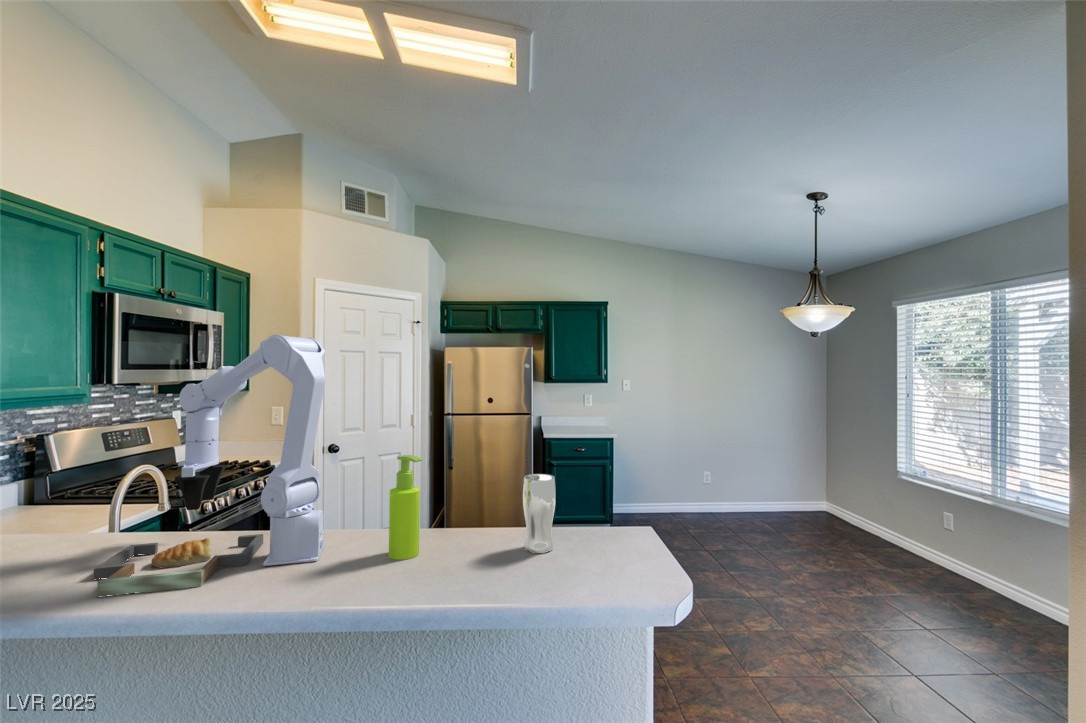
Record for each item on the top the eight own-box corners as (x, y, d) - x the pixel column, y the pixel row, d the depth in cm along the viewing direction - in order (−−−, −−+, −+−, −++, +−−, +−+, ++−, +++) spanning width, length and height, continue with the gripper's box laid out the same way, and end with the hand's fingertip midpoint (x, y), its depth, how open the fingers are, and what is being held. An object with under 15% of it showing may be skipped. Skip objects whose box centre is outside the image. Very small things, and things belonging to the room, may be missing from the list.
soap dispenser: (406, 563, 91) (407, 459, 91) (382, 556, 94) (384, 456, 95) (428, 553, 96) (430, 455, 96) (405, 547, 99) (406, 452, 100)
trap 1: (157, 552, 95) (157, 542, 95) (124, 577, 84) (124, 565, 84) (130, 554, 94) (131, 544, 94) (93, 580, 83) (93, 568, 83)
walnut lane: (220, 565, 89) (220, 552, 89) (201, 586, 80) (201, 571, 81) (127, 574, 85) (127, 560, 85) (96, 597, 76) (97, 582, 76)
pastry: (151, 574, 86) (151, 553, 86) (151, 562, 91) (151, 543, 91) (213, 561, 92) (214, 541, 92) (210, 551, 97) (210, 532, 97)
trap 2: (263, 543, 101) (263, 533, 101) (245, 565, 89) (245, 554, 89) (239, 545, 100) (239, 535, 100) (218, 567, 88) (218, 557, 88)
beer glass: (550, 556, 95) (550, 481, 95) (517, 552, 97) (518, 479, 97) (558, 544, 102) (559, 474, 102) (528, 541, 103) (528, 472, 104)
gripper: (194, 436, 106) (192, 497, 106) (164, 446, 92) (162, 515, 92) (230, 435, 108) (228, 494, 108) (206, 444, 94) (204, 512, 94)
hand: (200, 504), depth 100 cm, fingers open, 7 cm apart
